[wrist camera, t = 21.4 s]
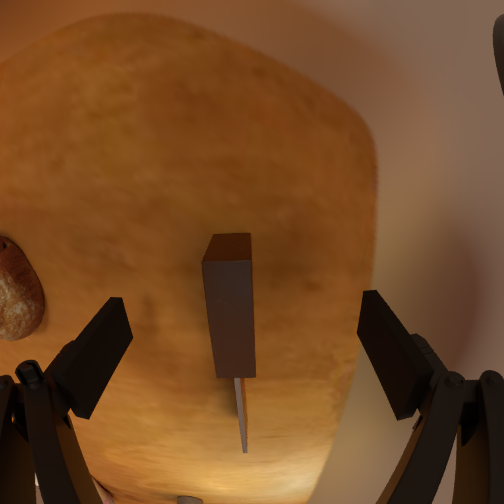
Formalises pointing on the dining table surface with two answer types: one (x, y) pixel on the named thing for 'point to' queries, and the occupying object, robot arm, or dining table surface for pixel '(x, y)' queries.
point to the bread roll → (18, 294)
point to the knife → (231, 313)
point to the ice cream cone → (103, 494)
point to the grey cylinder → (188, 500)
